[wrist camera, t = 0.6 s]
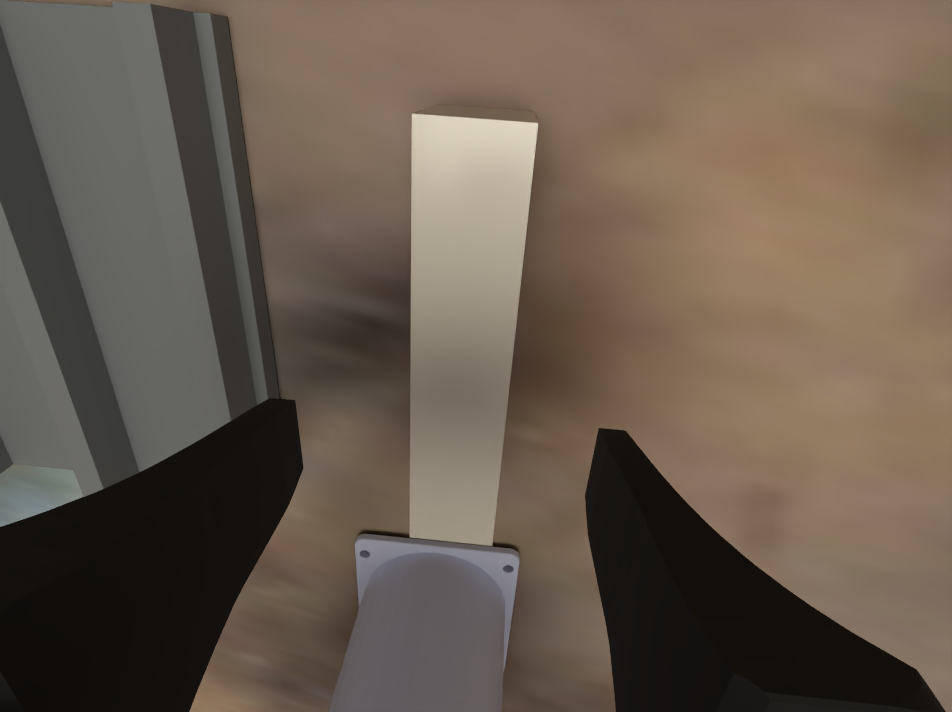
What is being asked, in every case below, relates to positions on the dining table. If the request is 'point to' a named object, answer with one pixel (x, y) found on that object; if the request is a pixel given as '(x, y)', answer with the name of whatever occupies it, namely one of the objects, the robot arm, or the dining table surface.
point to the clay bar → (464, 309)
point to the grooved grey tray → (123, 239)
